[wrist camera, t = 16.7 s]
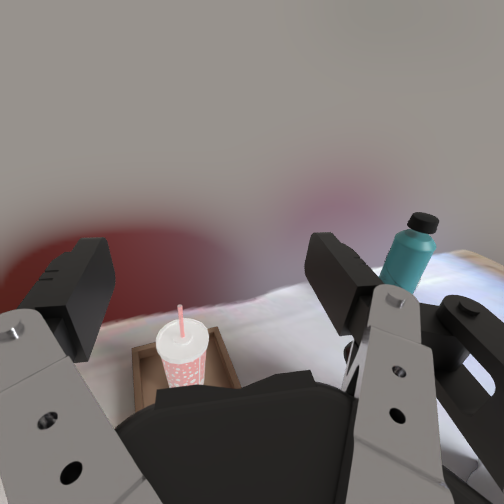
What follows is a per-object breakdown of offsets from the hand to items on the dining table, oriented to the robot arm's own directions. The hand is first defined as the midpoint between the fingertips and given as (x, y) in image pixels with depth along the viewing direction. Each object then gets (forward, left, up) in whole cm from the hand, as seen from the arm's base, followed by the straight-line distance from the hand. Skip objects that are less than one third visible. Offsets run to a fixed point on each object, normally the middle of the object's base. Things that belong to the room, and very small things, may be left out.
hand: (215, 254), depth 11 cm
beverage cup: (-8, -11, -29) cm, 32 cm away
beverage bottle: (-41, +11, -30) cm, 52 cm away
